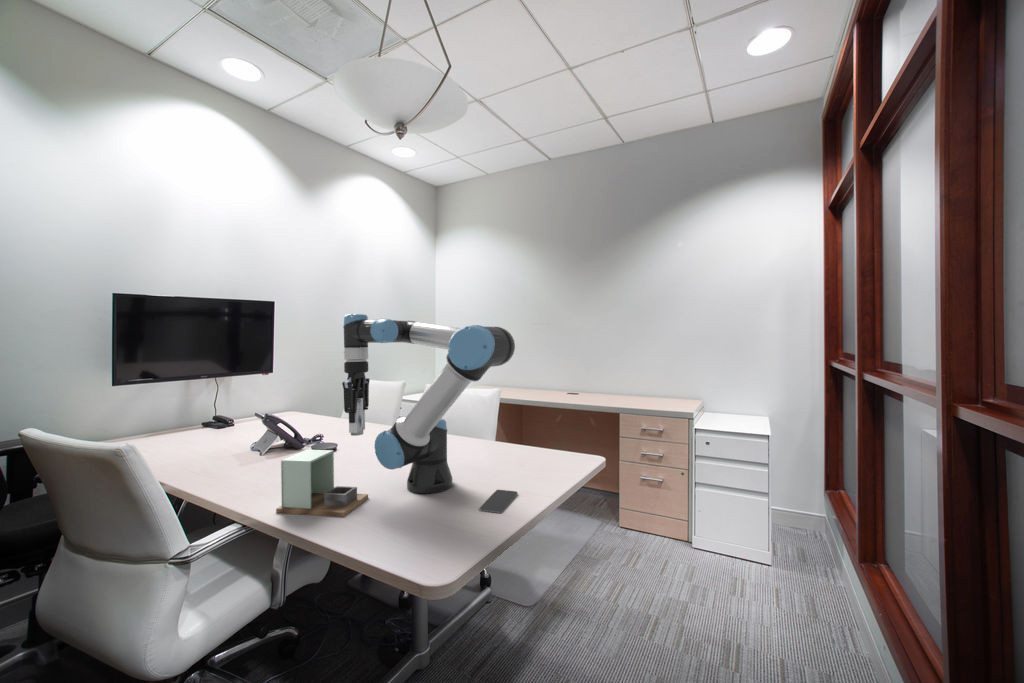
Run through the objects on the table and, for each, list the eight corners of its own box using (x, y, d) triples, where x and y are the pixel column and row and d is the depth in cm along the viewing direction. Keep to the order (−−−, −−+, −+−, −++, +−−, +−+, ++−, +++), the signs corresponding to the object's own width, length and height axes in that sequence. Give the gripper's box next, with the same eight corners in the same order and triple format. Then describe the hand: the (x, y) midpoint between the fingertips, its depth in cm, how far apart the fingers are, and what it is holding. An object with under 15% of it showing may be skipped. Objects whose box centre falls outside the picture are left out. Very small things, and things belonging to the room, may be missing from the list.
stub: (365, 433, 140) (365, 397, 140) (359, 435, 136) (359, 399, 136) (354, 432, 141) (354, 397, 141) (348, 435, 137) (347, 399, 137)
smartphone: (477, 509, 120) (496, 489, 135) (477, 512, 120) (496, 492, 135) (501, 512, 118) (518, 491, 133) (501, 515, 118) (518, 494, 133)
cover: (334, 493, 131) (333, 450, 131) (310, 508, 120) (309, 461, 120) (308, 492, 133) (307, 449, 133) (281, 507, 121) (281, 460, 121)
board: (368, 498, 131) (368, 483, 131) (343, 516, 117) (343, 500, 117) (307, 494, 134) (307, 480, 134) (276, 512, 120) (276, 496, 120)
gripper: (359, 359, 148) (359, 425, 148) (331, 362, 131) (332, 436, 131) (378, 359, 147) (379, 426, 147) (353, 362, 130) (354, 437, 130)
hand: (357, 430), depth 139 cm, fingers closed on stub, 4 cm apart
